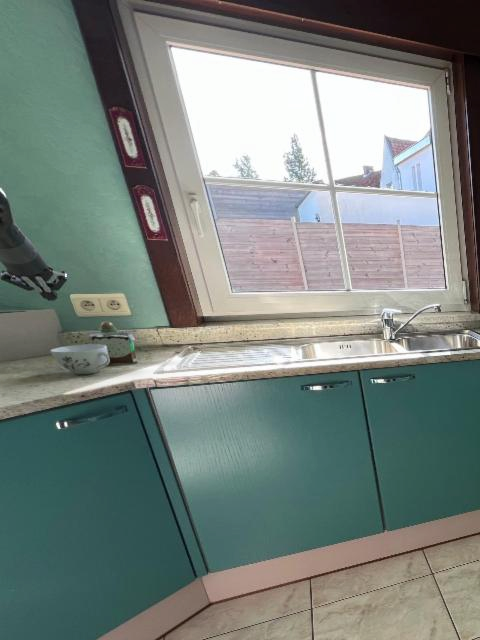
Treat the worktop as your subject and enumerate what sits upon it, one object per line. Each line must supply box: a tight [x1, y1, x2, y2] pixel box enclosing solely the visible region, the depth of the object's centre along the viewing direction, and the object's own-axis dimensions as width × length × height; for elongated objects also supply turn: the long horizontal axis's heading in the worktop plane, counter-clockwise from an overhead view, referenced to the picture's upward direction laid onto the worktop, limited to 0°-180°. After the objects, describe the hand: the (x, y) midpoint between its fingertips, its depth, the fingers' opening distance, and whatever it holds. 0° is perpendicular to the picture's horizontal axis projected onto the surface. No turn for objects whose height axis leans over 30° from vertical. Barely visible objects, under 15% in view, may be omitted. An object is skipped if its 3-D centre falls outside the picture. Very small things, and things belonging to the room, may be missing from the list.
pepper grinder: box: [98, 320, 119, 333], centre depth 178 cm, size 5×5×12 cm
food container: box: [88, 331, 138, 365], centre depth 169 cm, size 12×6×10 cm, turn 100°
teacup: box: [49, 343, 110, 375], centre depth 155 cm, size 15×12×8 cm
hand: (52, 298), depth 137 cm, fingers closed
